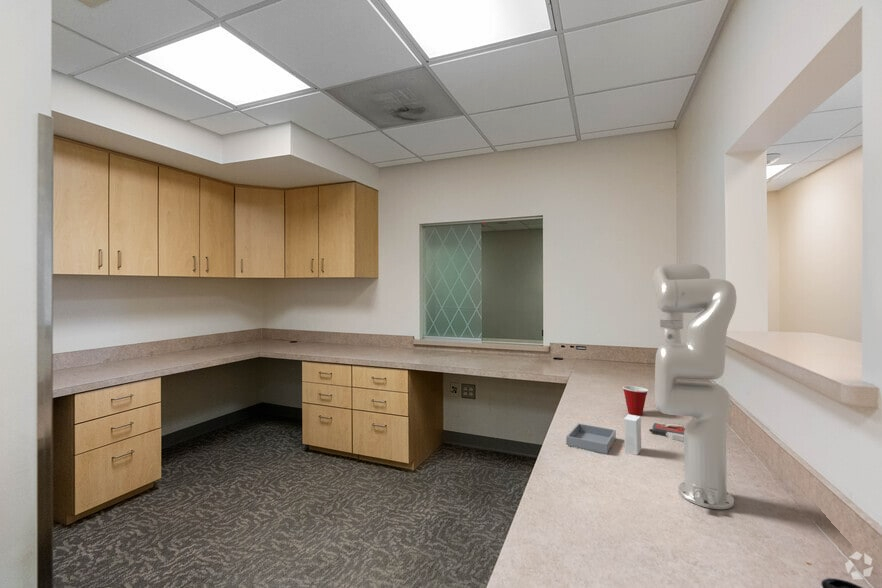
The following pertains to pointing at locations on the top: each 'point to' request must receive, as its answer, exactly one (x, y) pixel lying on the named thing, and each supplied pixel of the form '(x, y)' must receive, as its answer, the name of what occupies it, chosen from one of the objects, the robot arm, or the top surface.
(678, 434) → the walkie-talkie
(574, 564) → the top surface
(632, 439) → the skincare box
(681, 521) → the top surface
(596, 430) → the tray
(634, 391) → the plastic cup
